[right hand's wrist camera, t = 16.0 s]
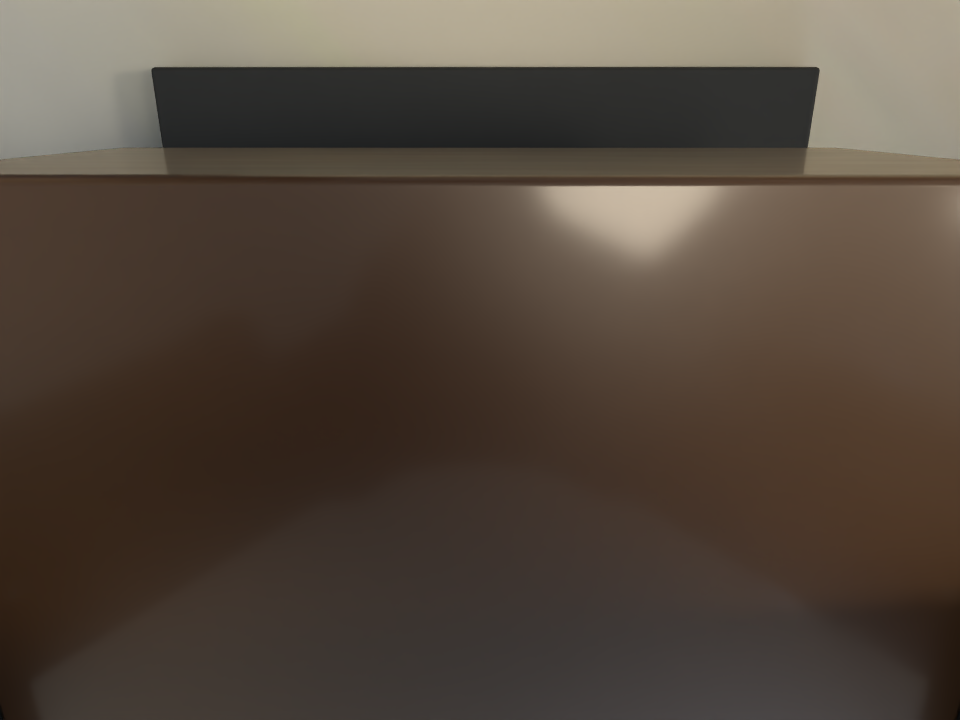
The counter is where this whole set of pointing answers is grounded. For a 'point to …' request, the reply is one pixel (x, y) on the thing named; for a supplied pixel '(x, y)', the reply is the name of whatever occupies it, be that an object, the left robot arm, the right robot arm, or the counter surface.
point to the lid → (479, 434)
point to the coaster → (485, 107)
